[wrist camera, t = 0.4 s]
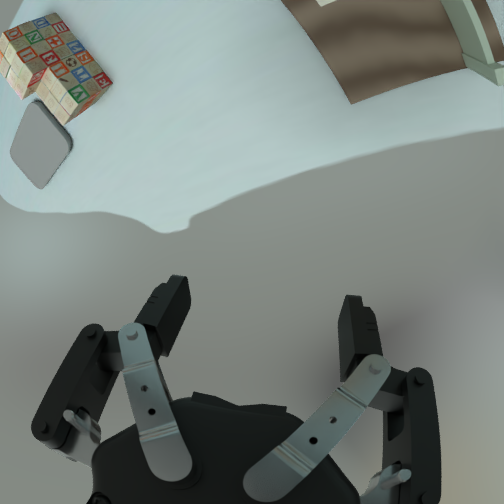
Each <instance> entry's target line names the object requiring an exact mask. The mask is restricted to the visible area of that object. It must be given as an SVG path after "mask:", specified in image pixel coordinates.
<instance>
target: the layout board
mask: <svg viewBox="0 0 504 504" xmlns="http://www.w3.org/2000/svg"><path fill="white" fill-rule="evenodd" d="M281 1H282V2H283V4H284V5H285V6H286V7H287V8H288V10H289V11H290V12H291V13H292V15H293V16H294V17H295V18H296V20H297V21H298V22H299V24H300V25H301V26H302V28H303V29H304V30H305V32H306V33H307V35H308V36H309V37H310V39H311V40H312V42H313V43H314V44H315V46H316V47H317V49H318V50H319V52H320V53H321V55H322V56H323V58H324V59H325V61H326V63H327V64H328V66H329V67H330V69H331V70H332V72H333V74H334V75H335V77H336V79H337V80H338V82H339V84H340V85H341V87H342V89H343V91H344V92H345V94H346V96H347V98H348V100H349V101H350V103H351V104H354V103H356V102H359V101H362V100H364V99H367V98H370V97H372V96H375V95H378V94H381V93H383V92H386V91H389V90H392V89H395V88H398V87H401V86H404V85H407V84H410V83H413V82H417V81H420V80H423V79H427V78H430V77H434V76H437V75H441V74H444V73H448V72H452V71H456V70H460V69H465V68H467V67H466V65H465V62H464V59H463V56H462V54H461V53H463V50H462V47H461V45H460V42H459V40H458V37H457V35H456V32H455V30H454V28H453V26H452V23H451V21H450V19H449V17H448V15H447V13H446V11H445V9H444V7H443V5H442V3H441V1H440V0H281ZM471 2H472V4H473V6H474V8H475V10H476V12H477V15H478V17H479V19H480V22H481V24H482V27H483V29H484V32H485V34H486V37H487V40H488V43H489V46H490V49H491V52H492V55H493V58H494V61H495V62H499V61H504V46H503V43H502V40H501V37H500V34H499V31H498V29H497V26H496V23H495V21H494V18H493V16H492V13H491V11H490V9H489V6H488V4H487V2H486V0H471Z"/></svg>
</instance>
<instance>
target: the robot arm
mask: <svg viewBox="0 0 504 504" xmlns="http://www.w3.org/2000/svg"><path fill="white" fill-rule="evenodd" d="M190 306H191V295H190V290H189V284H188V279H187V277H186V276H179V275H172V276H171V277H170V278H169V280H168V282H167V283H162V284H160V285H159V286H158V287H156V288H155V289H154V291H153V292H152V294H151V296H150V297H149V298H148V300H147V303H145V305H144V306H143V308H142V310H141V311H140V313H139V315H138V316H137V318H136V320H135V321H134V323H129V324H127V325H124V326H123V327H122V328H121V329H120V331H104V329H103V327H102V326H101V325H99V324H90V325H87V326H86V327H84V328H83V329H82V331H81V332H80V334H79V335H78V337H77V339H76V340H75V342H74V343H73V345H72V347H71V348H70V350H69V352H68V354H67V355H66V357H65V359H64V360H63V362H62V364H61V366H60V368H59V369H58V371H57V373H56V375H55V377H54V379H53V380H52V383H51V384H50V386H49V388H48V390H47V392H46V394H45V396H44V398H43V400H42V402H41V404H40V406H39V408H38V410H37V412H36V414H35V416H34V418H33V421H32V424H31V430H32V433H33V435H34V437H35V438H36V439H38V440H39V441H40V442H42V443H43V444H45V445H46V446H47V447H48V448H50V449H51V450H53V451H55V452H57V453H58V454H60V455H62V456H64V457H66V458H68V459H70V460H72V461H75V462H76V461H79V462H81V463H83V464H85V465H87V466H89V467H91V468H92V474H93V491H92V495H91V497H90V499H89V500H88V502H87V503H86V504H438V503H439V501H440V498H441V447H440V433H439V422H438V415H437V414H438V413H437V406H436V399H435V392H434V386H433V380H432V377H431V375H430V374H429V372H428V371H427V370H425V369H423V368H419V367H416V368H413V369H411V370H410V371H409V372H404V371H401V370H398V369H395V368H393V367H391V366H390V364H389V362H388V361H387V359H385V358H384V357H383V353H382V348H381V342H380V337H379V332H378V326H377V321H376V317H375V314H374V313H373V311H372V310H371V308H370V307H363V302H362V297H361V296H355V295H346V296H345V299H344V302H343V306H342V309H341V312H340V315H339V320H338V338H339V356H340V381H341V382H344V384H343V385H342V386H341V387H340V388H337V389H336V390H335V391H334V392H333V393H332V394H331V396H330V397H329V398H328V399H327V400H326V401H325V402H324V403H323V404H322V405H321V406H320V407H319V408H318V409H317V410H316V412H314V413H313V414H312V415H311V416H310V417H309V418H308V419H307V420H306V421H305V422H303V421H302V420H301V419H299V418H298V417H296V416H294V415H292V414H290V413H287V412H286V409H287V407H286V406H277V405H268V404H258V405H243V406H238V405H235V404H232V403H230V402H228V401H225V400H223V399H221V398H218V397H216V396H212V395H207V394H202V393H198V392H193V395H192V397H187V398H181V399H177V400H174V401H173V399H172V397H171V395H170V392H169V390H168V387H167V385H166V382H165V380H164V376H163V374H162V371H161V368H160V365H159V362H158V359H159V357H160V355H161V356H166V357H168V356H169V353H170V351H171V349H172V347H173V344H174V342H175V340H176V338H177V336H178V333H179V331H180V329H181V327H182V325H183V322H184V320H185V318H186V316H187V314H188V312H189V309H190ZM120 371H122V372H123V377H124V381H125V385H126V389H127V393H128V397H129V401H130V404H131V408H132V412H133V415H134V418H135V421H136V423H135V424H133V425H132V426H130V427H128V428H126V429H125V430H123V431H121V432H119V433H118V434H116V435H114V436H112V437H111V438H109V439H107V440H105V441H103V442H102V443H100V440H101V428H100V426H99V424H98V421H99V419H100V416H101V414H102V411H103V409H104V407H105V404H106V402H107V400H108V397H109V395H110V392H111V390H112V388H113V386H114V383H115V381H116V379H117V377H118V374H119V372H120ZM367 406H369V407H372V408H375V409H379V410H383V460H382V470H381V471H379V472H377V473H376V474H375V475H374V476H373V477H372V478H371V480H370V482H369V486H368V488H367V490H366V491H365V493H364V494H362V495H361V496H359V493H358V492H357V490H356V488H355V487H354V486H353V484H352V483H351V482H350V481H349V480H348V478H347V477H346V476H345V475H344V473H343V472H342V471H341V469H340V468H339V467H338V465H337V464H336V463H335V462H334V460H333V459H332V458H331V456H330V455H329V454H328V453H329V452H330V451H331V450H332V449H333V448H334V446H336V444H337V443H338V442H339V441H340V440H341V439H342V438H343V436H344V435H345V434H346V433H347V432H348V430H349V429H350V428H351V427H352V426H353V424H354V423H355V422H356V421H357V419H358V418H359V417H360V415H361V414H362V413H363V412H364V410H365V409H366V407H367Z"/></svg>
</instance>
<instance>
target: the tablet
mask: <svg viewBox="0 0 504 504" xmlns="http://www.w3.org/2000/svg"><path fill="white" fill-rule="evenodd" d="M71 145H72V142H71V138H70V136H69V135H68V133H67V132H66V131H65V130H64V129H63V128H62V126H61V125H60V124H59V123H58V122H57V120H56V119H55V118H54V117H53V115H52V114H51V113H50V112H49V111H48V109H47V108H46V107H45V106H44V104H43V103H41V102H31V103H30V104H29V105H28V106H27V108H26V110H25V113H24V115H23V117H22V120H21V122H20V125H19V127H18V129H17V132H16V135H15V137H14V140H13V143H12V146H11V148H10V155H11V158H12V160H13V161H14V162H15V164H16V165H17V166H18V167H19V168H20V170H21V171H22V172H23V173H24V174H25V175H26V177H27V178H28V179H29V180H30V181H31V182H32V183H33V184H34V186H36V187H37V188H38V189H43V188H44V187H45V186H46V184H47V183H48V181H49V180H50V178H51V177H52V175H53V174H54V173H55V171H56V170H57V168H58V167H59V165H60V164H61V163H62V161H63V160H64V159H65V157H66V156H67V155H68V153H69V152H70V148H71Z"/></svg>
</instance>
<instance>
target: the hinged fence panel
mask: <svg viewBox="0 0 504 504" xmlns="http://www.w3.org/2000/svg"><path fill="white" fill-rule="evenodd" d="M440 1H441V3H442V5H443V7H444V9H445V11H446V13H447V15H448V17H449V19H450V21H451V23H452V26H453V28H454V30H455V32H456V35H457V37H458V40H459V42H460V45H461V47H462V50H463V53H461V54H462V56H463V59H464V62H465V65H466V67H467V68H469V69H471V70H473V71H475V72H476V73H478V74H480V75H481V76H483V77H485V78H486V79H488V80H490V81H491V82H493V83H494V84H496V85H497V86H502V85H504V66H503V65H501V64H499V63H497V62H495V61H494V58H493V55H492V52H491V49H490V46H489V43H488V40H487V37H486V34H485V32H484V29H483V27H482V24H481V22H480V19H479V17H478V15H477V12H476V10H475V8H474V6H473V4H472V2H471V0H440Z"/></svg>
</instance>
